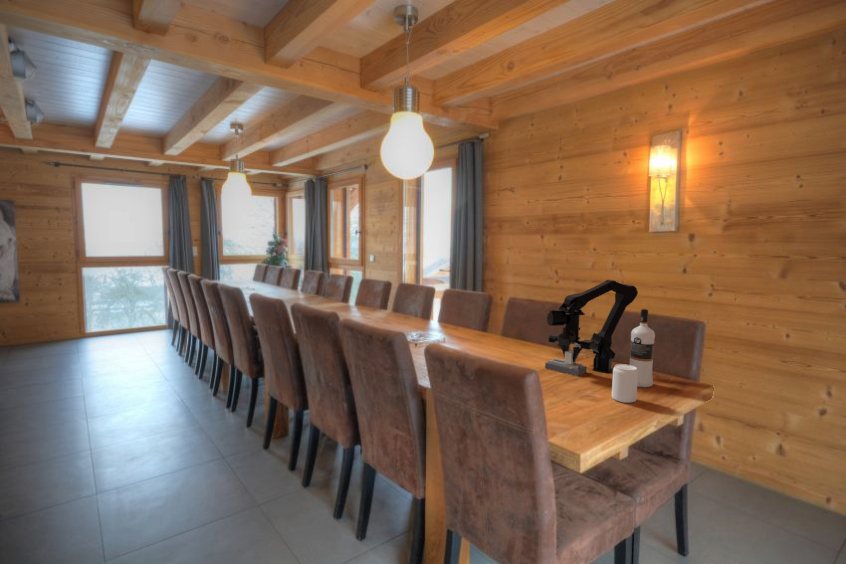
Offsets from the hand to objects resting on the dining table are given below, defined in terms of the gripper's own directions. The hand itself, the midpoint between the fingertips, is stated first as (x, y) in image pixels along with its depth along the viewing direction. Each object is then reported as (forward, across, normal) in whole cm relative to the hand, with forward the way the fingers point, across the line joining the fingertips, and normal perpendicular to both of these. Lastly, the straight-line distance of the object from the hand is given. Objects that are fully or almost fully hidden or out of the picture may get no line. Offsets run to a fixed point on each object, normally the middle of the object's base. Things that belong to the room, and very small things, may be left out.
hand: (570, 361), depth 192 cm
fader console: (+4, -2, 0) cm, 5 cm away
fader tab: (+2, 0, 0) cm, 2 cm away
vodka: (+5, +27, +5) cm, 28 cm away
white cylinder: (+5, +29, -17) cm, 34 cm away
